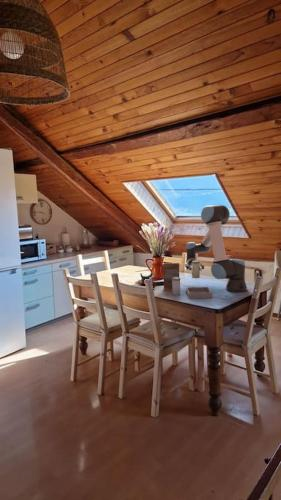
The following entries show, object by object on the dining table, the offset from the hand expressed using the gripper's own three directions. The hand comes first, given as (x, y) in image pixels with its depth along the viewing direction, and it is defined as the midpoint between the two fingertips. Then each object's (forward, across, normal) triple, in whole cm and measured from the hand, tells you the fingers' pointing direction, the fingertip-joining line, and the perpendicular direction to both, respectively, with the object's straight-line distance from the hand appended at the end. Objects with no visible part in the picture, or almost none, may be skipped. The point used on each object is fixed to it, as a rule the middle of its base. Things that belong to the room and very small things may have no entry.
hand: (196, 269), depth 252 cm
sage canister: (-5, 0, -7) cm, 9 cm away
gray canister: (+1, +15, -18) cm, 23 cm away
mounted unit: (-14, +17, -18) cm, 29 cm away
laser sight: (-26, +36, -18) cm, 48 cm away
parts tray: (+3, -1, -18) cm, 18 cm away
